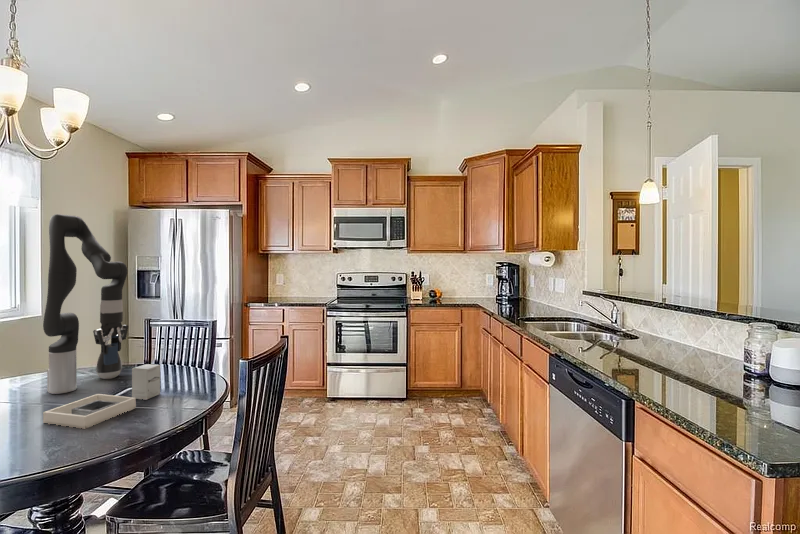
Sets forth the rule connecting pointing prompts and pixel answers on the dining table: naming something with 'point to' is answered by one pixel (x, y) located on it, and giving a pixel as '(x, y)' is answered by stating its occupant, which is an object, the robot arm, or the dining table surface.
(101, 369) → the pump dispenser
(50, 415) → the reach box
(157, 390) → the supplement box
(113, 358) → the vaping device
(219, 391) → the dining table surface
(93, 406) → the inlet socket
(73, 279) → the robot arm
